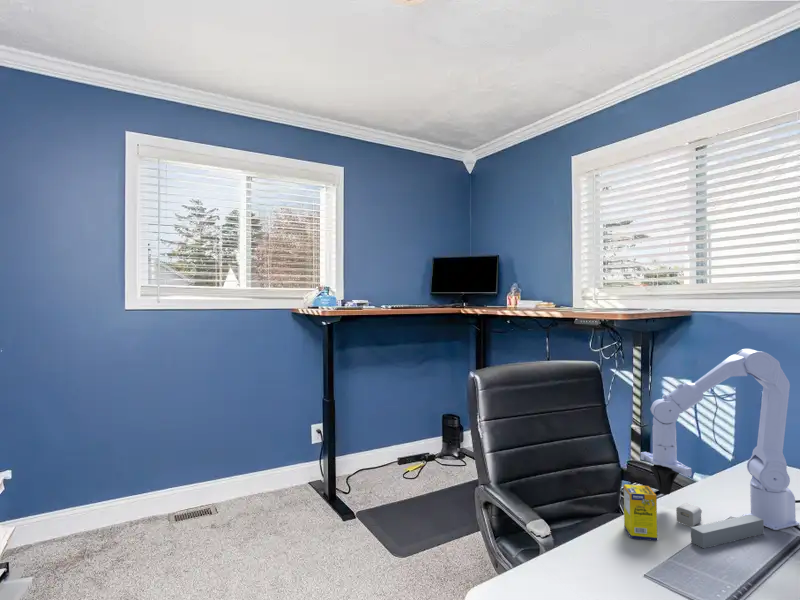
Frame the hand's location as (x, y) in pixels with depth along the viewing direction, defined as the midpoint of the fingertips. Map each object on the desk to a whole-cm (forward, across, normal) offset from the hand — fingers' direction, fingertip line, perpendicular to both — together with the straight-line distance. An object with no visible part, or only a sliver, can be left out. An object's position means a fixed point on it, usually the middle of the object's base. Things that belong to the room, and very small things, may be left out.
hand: (665, 493), depth 126 cm
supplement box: (+4, +9, -18) cm, 20 cm away
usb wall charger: (+4, +8, 0) cm, 9 cm away
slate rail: (+4, +17, 0) cm, 18 cm away
